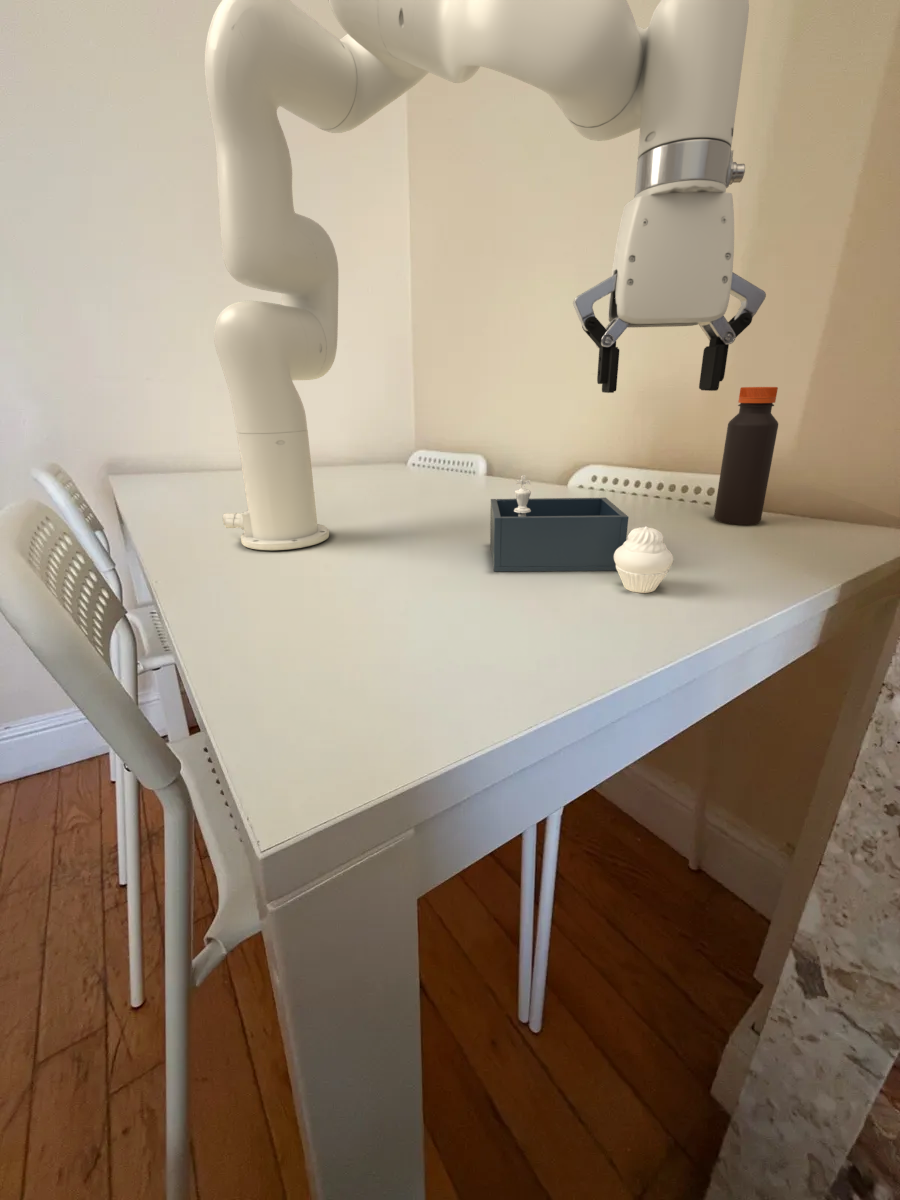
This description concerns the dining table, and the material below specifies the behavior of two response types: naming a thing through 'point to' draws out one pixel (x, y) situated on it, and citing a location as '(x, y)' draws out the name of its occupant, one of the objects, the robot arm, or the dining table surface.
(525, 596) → the dining table surface
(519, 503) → the chess piece
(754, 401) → the bottle
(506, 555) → the bin
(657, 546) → the muffin
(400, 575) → the dining table surface
